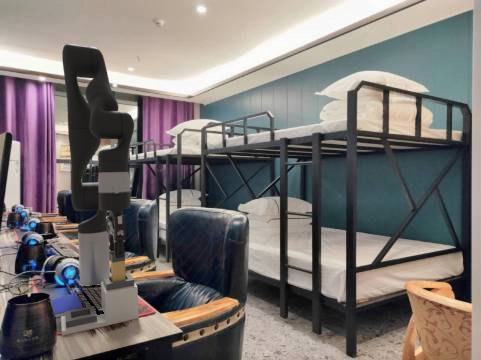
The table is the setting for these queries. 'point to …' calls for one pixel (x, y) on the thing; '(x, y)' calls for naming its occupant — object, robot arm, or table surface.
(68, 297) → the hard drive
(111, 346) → the table surface
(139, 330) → the table surface
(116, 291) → the console
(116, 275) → the plug
